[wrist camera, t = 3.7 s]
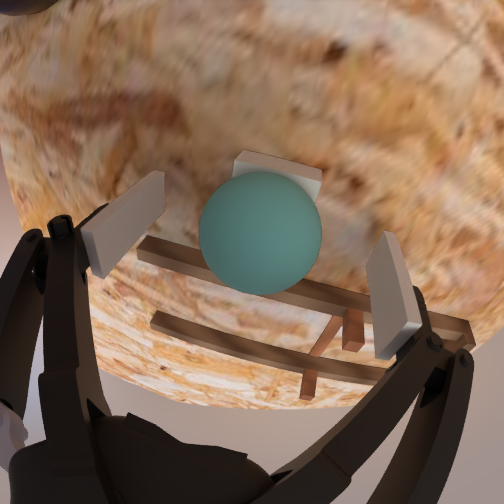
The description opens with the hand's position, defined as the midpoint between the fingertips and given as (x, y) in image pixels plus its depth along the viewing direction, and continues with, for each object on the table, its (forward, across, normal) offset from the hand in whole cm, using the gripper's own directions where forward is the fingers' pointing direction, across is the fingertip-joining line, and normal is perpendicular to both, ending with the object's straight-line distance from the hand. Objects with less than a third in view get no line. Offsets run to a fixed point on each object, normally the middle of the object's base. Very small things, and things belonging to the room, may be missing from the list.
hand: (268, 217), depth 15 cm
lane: (+3, +6, -12) cm, 13 cm away
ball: (-2, 0, 0) cm, 2 cm away
